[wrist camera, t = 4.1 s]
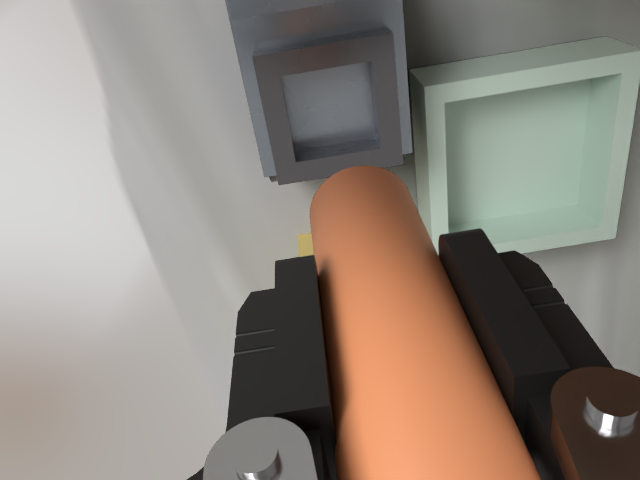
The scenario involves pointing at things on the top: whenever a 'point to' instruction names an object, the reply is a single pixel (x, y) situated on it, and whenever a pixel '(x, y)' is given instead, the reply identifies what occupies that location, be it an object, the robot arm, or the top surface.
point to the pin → (402, 345)
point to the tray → (526, 143)
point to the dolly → (324, 84)
